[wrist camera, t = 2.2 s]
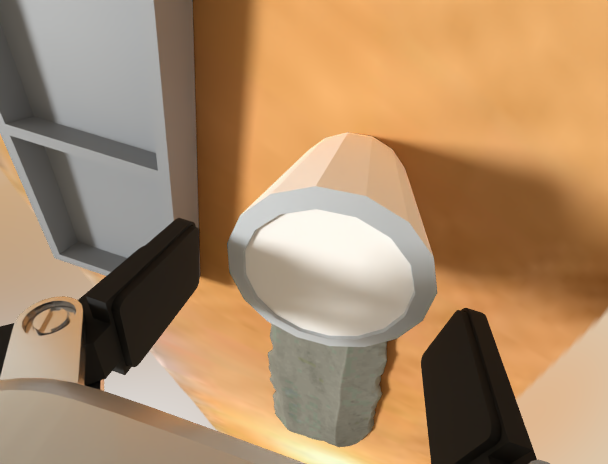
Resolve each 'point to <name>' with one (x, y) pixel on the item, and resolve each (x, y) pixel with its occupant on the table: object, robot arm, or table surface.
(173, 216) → the tray
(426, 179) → the table surface
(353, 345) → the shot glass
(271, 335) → the stone slab
